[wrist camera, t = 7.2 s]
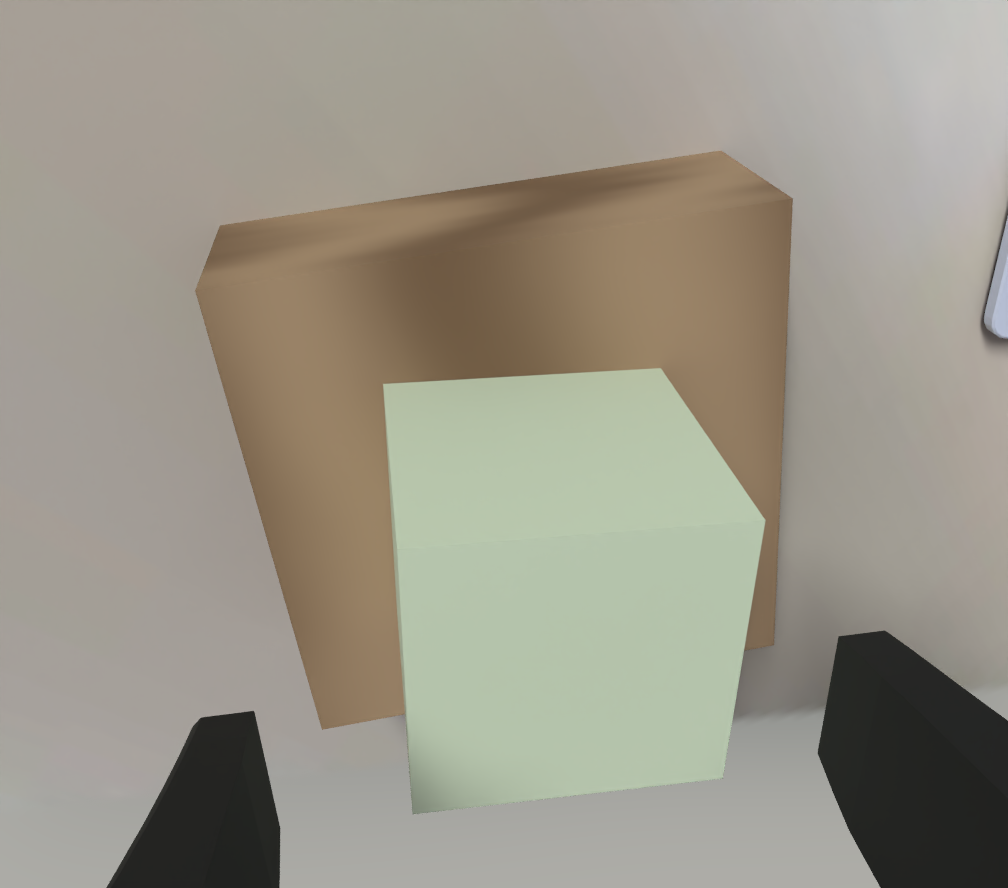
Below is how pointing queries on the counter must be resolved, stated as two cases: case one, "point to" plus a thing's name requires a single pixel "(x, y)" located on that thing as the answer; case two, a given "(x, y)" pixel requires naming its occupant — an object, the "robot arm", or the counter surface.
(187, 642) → the counter surface
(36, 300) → the counter surface
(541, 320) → the walnut block
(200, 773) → the robot arm
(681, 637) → the sage cube
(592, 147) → the counter surface
